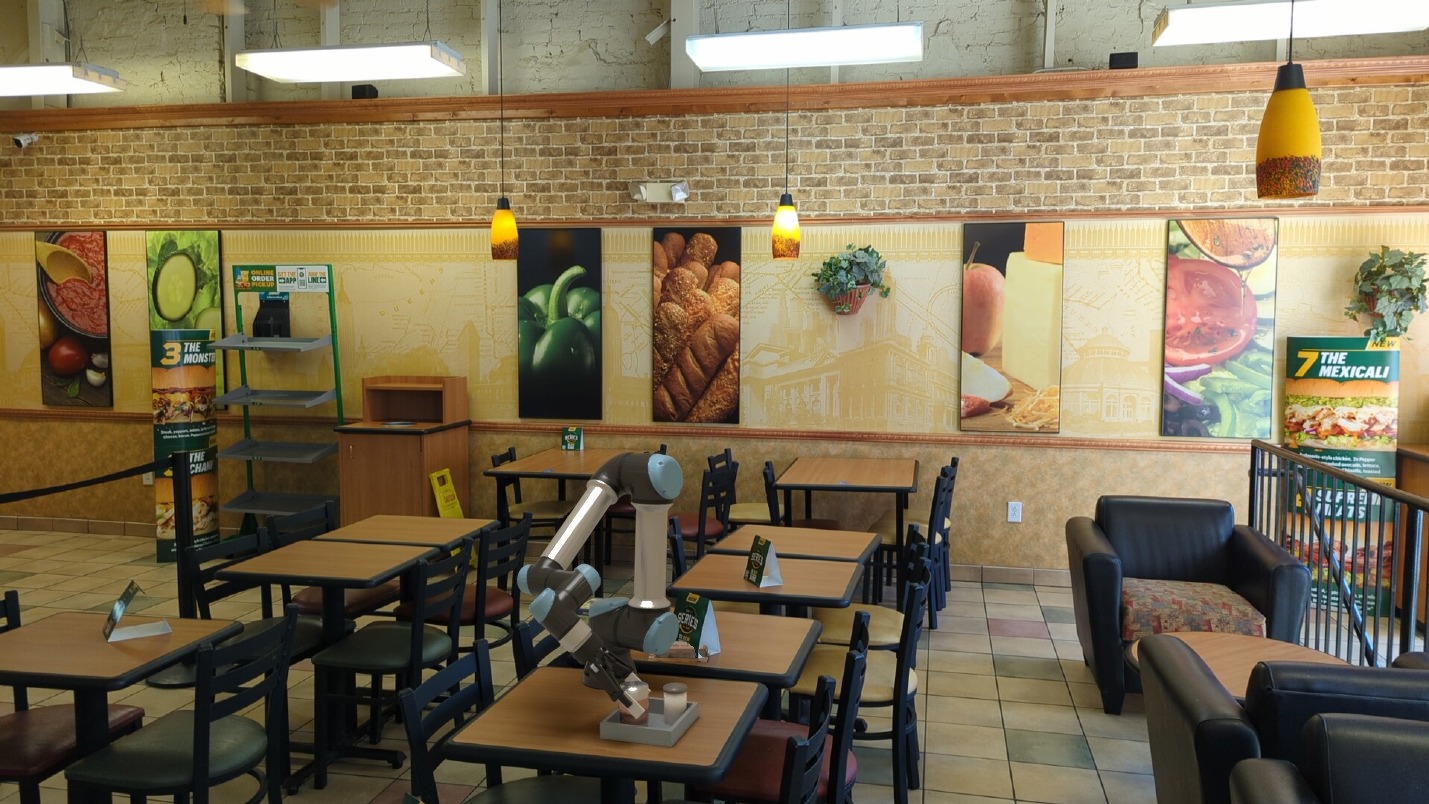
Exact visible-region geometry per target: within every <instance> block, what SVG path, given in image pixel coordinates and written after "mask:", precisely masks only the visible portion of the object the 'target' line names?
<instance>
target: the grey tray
mask: <svg viewBox="0 0 1429 804" xmlns="http://www.w3.org/2000/svg"><path fill="white" fill-rule="evenodd" d="M698 718H699V702H697V701H690V700H687V711H686V712H685V713H684V714H683V715H682V716H681V717H680V718H679V719H678V720H677V721H676V722H675V723H674V724H673V725H668V724H666V723H664V697H663V698H661V697H654V696H649V727H644V726H636V725H628V724H620V721H619V706H617V707H616V708H615V709H614V710H613V711H612V712H610V713H609V715H607V716H606V717H605V718H604V719H602V720H601V721H600V722H599V738H600V739H601V740H602V739H604V740H608V741H609V740H610V741H611V740H612V741H616V742H617V741H619V742H626V743H627V742H628V743H634V744H642V745H650V746H657V747H658V746H659V747H664V748H665V747H666V748H673V746H674V745H675V744H677V742H678V741H679V740H680V738H681V737H682V736H683V735H684V734H685V733H686V731H688V729H689V728H690V727H691V726H692V725H693V724H694V723H695V722H696V720H697V719H698Z"/></svg>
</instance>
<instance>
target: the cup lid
mask: <svg viewBox="0 0 1429 804" xmlns="http://www.w3.org/2000/svg"><path fill="white" fill-rule="evenodd" d="M662 688H663V689H662V691H663V693H664V692H666V693H670V694H680V693H684V692H686V691H687V692H688V685H687V684H685V683H682V682H668V683H666V684H664V685H663V686H662Z"/></svg>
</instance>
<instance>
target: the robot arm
mask: <svg viewBox="0 0 1429 804" xmlns="http://www.w3.org/2000/svg"><path fill="white" fill-rule="evenodd" d="M683 486H684V475H683V471H682V467H681V465H680V464H679V462H678V461H677V460H676V458H674V457H673V456H670V455H666V454H661V453H646V452H645V453H643V452H642V453H641V452H634V451H627V452H621V453H619V454H616V455H614V456H613V457H611V458H610V459H607V460H606V462H604V463H603V464H602V465H601V466H599V468H597V469H596V471H595V472H594V473H593V475H592V476H591V477H590V478H589V480H588V481H587V483H586V490H585V491H584V493H583V495H582V496H581V497H580V499H579V500H578V502H577V504H575V506H574V508H573V510H571V512H570V513H569V515H568V516H567V518H566V519H565V521H563V523H562V525H561V526H560V527H559V529H558V530H557V532H556V533H555V535H554V537H552V539H551V541H550V542H549V543H548V545H547V546H546V548H545V550H544V551H543V552H542V554H541V555H540V557H539V558H538V560H536V562H535V564H534V563H532V564H526V565H524V566H523V567H521V568H520V570H519V572H518V575H517V577H516V581H517V582H516V584H517V586H518V589H519V590H520V591H521V592H522V593H524V594H526V595H530V596H533V597H536V598H535V599H534V600H533V601H532V602H531V603H530V604H529V605H528V612H529V613H530V614H531V616H532V617H533V618H534V620H535V621H537V623H538V624H540V625H541V626H542V627H543V628H544V629H545V630H546V631H547V632H548V633H549V634H550V635H551V636H552V637H553V638H554V639H555V640H556V641H557V642H558V643H559V644H560V645H559V647H561V648H564V649H565V650H566V651H568V652H569V653H572V654H571V655H572V658H573V657H574V658H575V659H574V660H576V661H577V662H578V663H579V664H580V665H584V669H583V673H582V682H583V684H584V685H585V686H587V687H590V688H593V689H601V690H604V691H605V693H606V694H607V696H608V697H609V698H610V699H611V701H612V702H613V703H615V702H617V701H618V702H620V703H621V704H622V705H623V706H624V707H625V708H626V709H627V710H628V711H629V712H630V713H631V714H632V715H633V716H634V717H635V718H636V719H637V718H638V717H639V716H640V715H641V714H642V713H644V712H645V710H644V709H643V708H642V707H641V706H640V705H639V704H638V703H637V702H636V701H635V700H634V699H633V698H632V697H631V696H630V695H629V694H628V693H627V692H626V691H625V692H624V691H623V690H622V688H621V686H620V684H621V683H624V682H627V681H642V680H641V679H640V678H639V677H638V673H637V668H636V665H635V661H634V659H633V656H632V654H631V651H632V650H633V651H637V652H641V653H645V654H648V655H650V654H656V655H660V654H663V653H665V652H667V651H668V650H669V649H670V648H671V647H672V645H673V643H674V642H675V641H677V638H678V635H679V630H680V621H679V618H678V617H677V615H676V614H675V613H674V612H671V608H672V607H671V604H672V603H671V601H669V600H668V598H667V597H666V587H667V585H666V584H667V583H666V582H667V549H668V548H667V547H668V544H667V542H668V512H669V510H670V508H671V507H672V506H673V505H674V499H675V498H678V497H679V495H680V494H681V491H682V490H683ZM624 495H625V496H626V495H630V504H631V505H632V506H633V507H634V508H635V510H636V512H635V513H636V514H635V540H634V541H635V542H634V544H635V546H634V547H635V549H634V581H633V582H634V583H633V585H634V586H633V597H632V598H629V597H628V596H613V597H604V598H605V599H600V600H597V601H594V602H593V603H591V605H590V607H589V616H588V619H589V626H588V625H587V624H586V623H585V622H584V621H583V620H582V619H580V618H579V617H578V615H577V614H576V612H577V611H578V610H579V608H580V607H581V606H582V605H583V604H584V603H585V602H587V601H589V600H590V598H591V597H593V596H594V594H595V592H596V591H597V590H598V589H599V588H600V586H601V581H602V579H601V576H600V573H598V571H597V570H596V569H595V567H593V566H591V565H590V564H586V563H581V564H580V565H578V566H577V567H575V568H574V569H573V571H572V570H571V571H570V570H567V569H568V568H569V566H570V565H571V563H572V562H573V560H574V559H575V557H576V556H577V554H578V552H580V550H581V549H582V547H583V545H584V544H585V543H586V541H587V540H588V538H589V536H591V533H592V532H593V530H594V529H595V527H596V526H597V525H598V523H599V522H600V520H601V519H602V517H603V516H604V514H605V513H606V511H607V510H608V509H609V507H610V506H611V505H614V504H616V503H617V501H618V500H619V499H620V498H621V497H622V496H624ZM651 691H652V690H651V689H650V688H649V687H648V695H649V693H651Z"/></svg>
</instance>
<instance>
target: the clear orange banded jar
mask: <svg viewBox="0 0 1429 804" xmlns="http://www.w3.org/2000/svg"><path fill="white" fill-rule="evenodd" d="M620 686H621V688H622V690H623V691H624V692H625V691H626V692H627V693H628V694H629V695H630V696H631V697H632V698H633V699H634V700H635V701H636V702H637V703H638V704H639V705H640V706H641V707H642V708H643V709H644V710H645V712H644V713H642V714H641V715H640V716H639V717H638V718H637V719H636V718H635V717H634V716H633V715H632V714H631V713H630V712H629V711H628V710H627V709H626V708H625V707H624V706H623V705H622V704H621V703H620V702H619V701H618V702H619V706H618V707H619V721H620V724H628V725H636V726H644V727H649V697H650V696H649V694H648V688H649V684H648V683H647V682H646V681H643V680H641V681H627V682H624V683H621V684H620Z"/></svg>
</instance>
